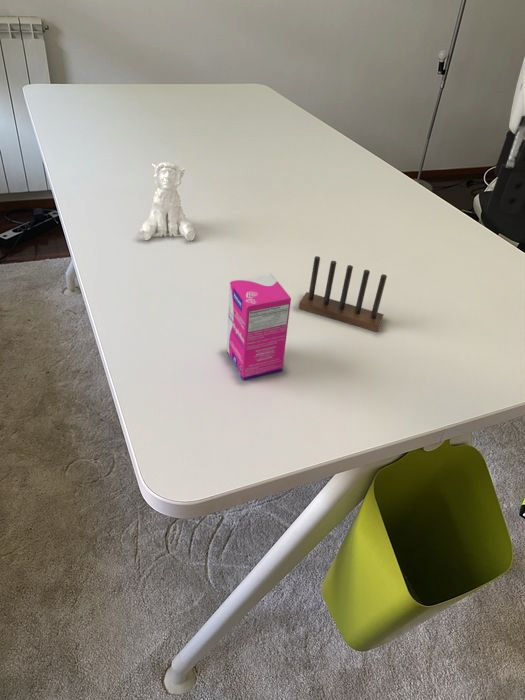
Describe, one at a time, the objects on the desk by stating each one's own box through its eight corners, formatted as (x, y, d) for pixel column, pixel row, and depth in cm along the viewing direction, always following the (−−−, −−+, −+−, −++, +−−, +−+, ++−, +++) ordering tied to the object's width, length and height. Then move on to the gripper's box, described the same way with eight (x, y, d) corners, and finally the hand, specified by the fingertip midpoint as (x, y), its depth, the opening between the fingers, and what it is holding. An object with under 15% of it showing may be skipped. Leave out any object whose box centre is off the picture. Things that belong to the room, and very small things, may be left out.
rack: (382, 320, 81) (395, 272, 76) (377, 332, 79) (390, 283, 73) (305, 298, 84) (312, 250, 79) (298, 308, 82) (305, 260, 76)
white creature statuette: (138, 241, 93) (134, 172, 86) (139, 218, 100) (135, 152, 92) (194, 241, 95) (195, 174, 87) (192, 219, 101) (192, 154, 94)
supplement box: (224, 353, 72) (228, 278, 65) (265, 345, 74) (273, 271, 67) (240, 381, 68) (246, 305, 61) (283, 372, 70) (294, 297, 63)
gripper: (688, -35, 29) (555, 250, 40) (644, -44, 42) (552, 174, 53) (541, -52, 31) (451, 225, 42) (542, -55, 44) (473, 158, 55)
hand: (508, 196), depth 47 cm, fingers open, 9 cm apart
